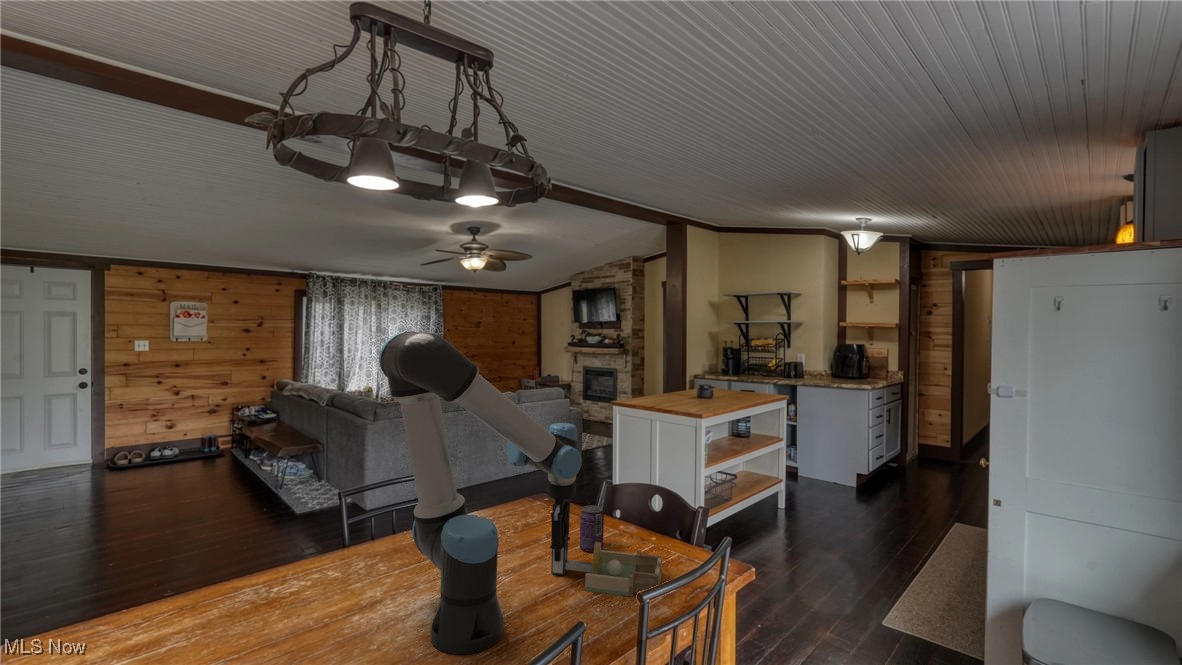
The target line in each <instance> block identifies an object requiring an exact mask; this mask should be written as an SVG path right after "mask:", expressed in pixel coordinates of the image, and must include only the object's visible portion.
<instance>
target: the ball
mask: <svg viewBox="0 0 1182 665" xmlns="http://www.w3.org/2000/svg"><path fill="white" fill-rule="evenodd" d="M607 571H608V573H609V574H610V575H611V576H618V575H619V574H620V573H621V571H622V565H621V563H620V562H619V561H617V560H611V561H610V562H609V563H608V564H607Z"/></svg>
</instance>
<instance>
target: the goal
mask: <svg viewBox="0 0 1182 665" xmlns="http://www.w3.org/2000/svg"><path fill="white" fill-rule="evenodd" d="M635 554H636V570H635V571H631V572H630V575H629V596H628V597H631V598H633V597H634V594H637V592H639V591H642V590H646V589H649V588H651V587H654V586H656V585H659V584H660V585H661V581H662V576H663V574H662V572H663V556H662V555H651V554H644V553H642V551H641V550H637V551H636V553H635Z"/></svg>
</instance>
